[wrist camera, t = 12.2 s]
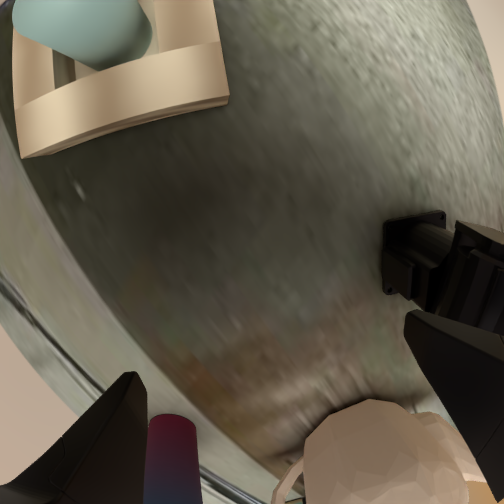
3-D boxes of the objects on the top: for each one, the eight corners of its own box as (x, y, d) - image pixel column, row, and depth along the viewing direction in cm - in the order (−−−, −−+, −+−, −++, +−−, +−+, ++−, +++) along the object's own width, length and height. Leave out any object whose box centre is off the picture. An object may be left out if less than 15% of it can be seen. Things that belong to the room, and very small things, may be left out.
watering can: (442, 409, 34) (502, 496, 16) (274, 480, 34) (299, 589, 16) (456, 336, 28) (554, 441, 10) (236, 428, 28) (259, 591, 10)
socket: (200, -44, 13) (199, -72, 10) (226, 105, 18) (229, 95, 14) (41, 9, 13) (17, -7, 9) (51, 154, 17) (21, 158, 14)
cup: (128, 422, 27) (108, 544, 13) (170, 399, 26) (159, 543, 12) (174, 450, 29) (172, 562, 15) (217, 430, 28) (227, 556, 14)
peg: (162, 12, 14) (132, -58, 6) (138, 77, 16) (83, 36, 8) (98, 8, 13) (41, -47, 5) (74, 70, 15) (-3, 41, 7)
